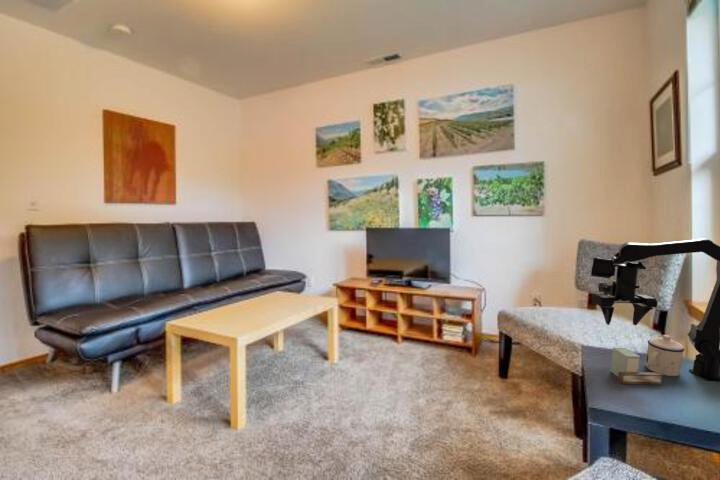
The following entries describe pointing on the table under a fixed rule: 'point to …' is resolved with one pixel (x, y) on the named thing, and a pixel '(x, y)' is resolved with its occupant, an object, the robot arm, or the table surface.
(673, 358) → the teacup with lid
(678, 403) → the table surface
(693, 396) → the table surface
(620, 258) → the robot arm
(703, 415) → the table surface
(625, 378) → the wooden block
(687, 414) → the table surface
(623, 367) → the sage tin
